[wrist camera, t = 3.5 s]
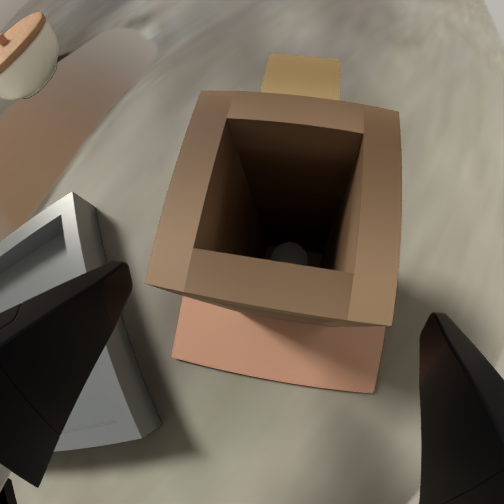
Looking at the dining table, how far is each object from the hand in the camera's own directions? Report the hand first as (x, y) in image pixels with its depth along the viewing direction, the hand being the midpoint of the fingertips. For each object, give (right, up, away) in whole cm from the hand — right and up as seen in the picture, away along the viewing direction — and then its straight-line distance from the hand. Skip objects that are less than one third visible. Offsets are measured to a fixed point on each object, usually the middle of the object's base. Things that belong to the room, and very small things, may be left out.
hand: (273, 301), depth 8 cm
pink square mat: (+2, 0, +10) cm, 10 cm away
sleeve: (+2, 0, +9) cm, 10 cm away
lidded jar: (-27, +23, +19) cm, 40 cm away
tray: (-17, -6, +11) cm, 21 cm away
